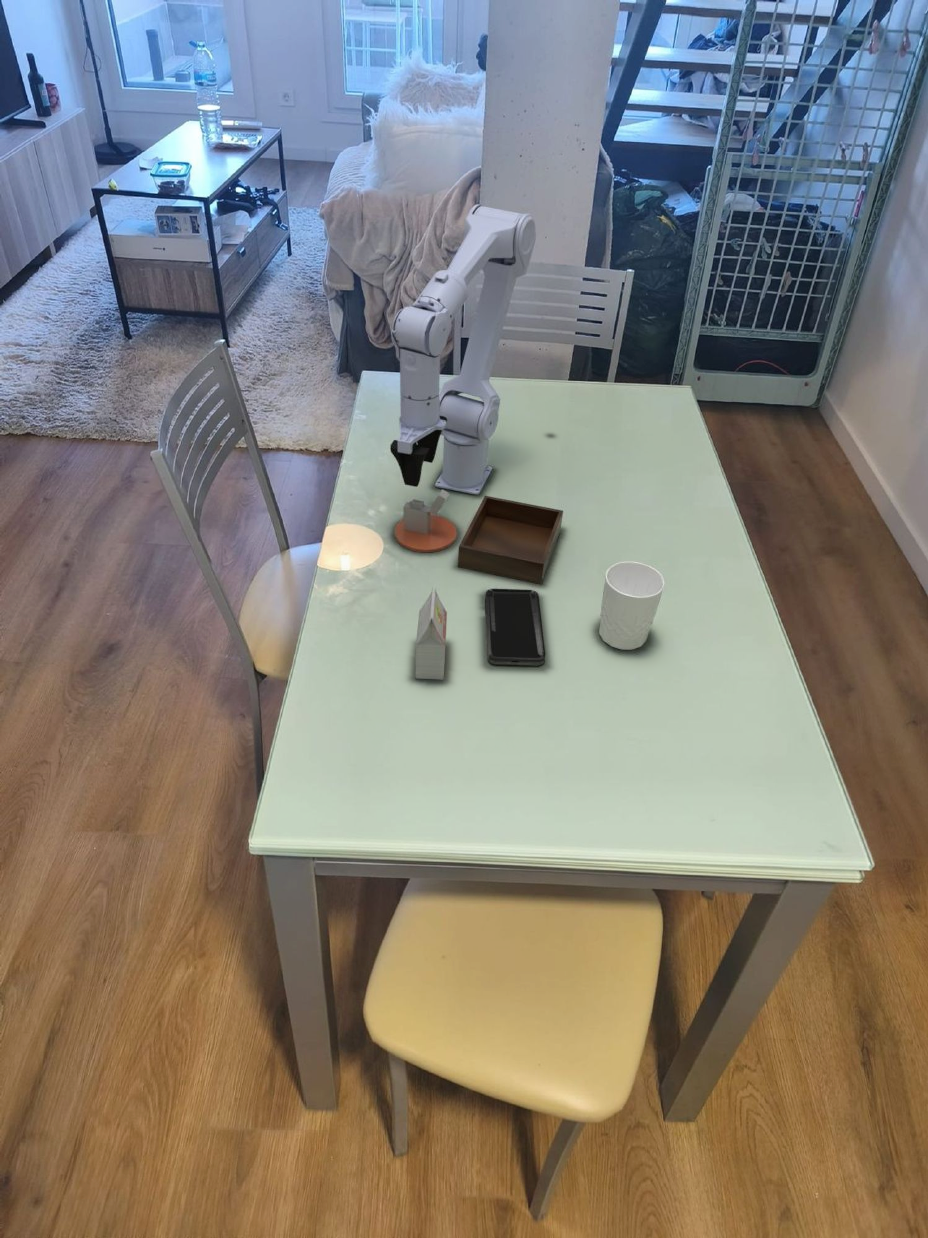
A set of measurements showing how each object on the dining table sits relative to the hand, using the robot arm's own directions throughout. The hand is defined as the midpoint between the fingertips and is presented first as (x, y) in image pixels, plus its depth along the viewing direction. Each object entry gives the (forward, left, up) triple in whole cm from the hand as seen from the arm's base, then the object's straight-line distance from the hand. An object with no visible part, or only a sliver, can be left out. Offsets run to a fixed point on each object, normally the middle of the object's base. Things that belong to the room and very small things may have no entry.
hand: (419, 472), depth 129 cm
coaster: (+3, +2, -9) cm, 10 cm away
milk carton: (+31, +12, -10) cm, 35 cm away
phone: (+21, +21, -9) cm, 31 cm away
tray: (+2, +16, -9) cm, 19 cm away
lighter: (+3, +2, -9) cm, 10 cm away
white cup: (+17, +36, -10) cm, 41 cm away
